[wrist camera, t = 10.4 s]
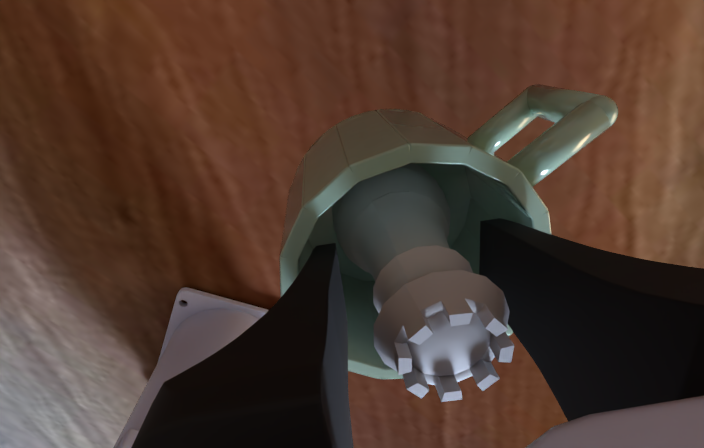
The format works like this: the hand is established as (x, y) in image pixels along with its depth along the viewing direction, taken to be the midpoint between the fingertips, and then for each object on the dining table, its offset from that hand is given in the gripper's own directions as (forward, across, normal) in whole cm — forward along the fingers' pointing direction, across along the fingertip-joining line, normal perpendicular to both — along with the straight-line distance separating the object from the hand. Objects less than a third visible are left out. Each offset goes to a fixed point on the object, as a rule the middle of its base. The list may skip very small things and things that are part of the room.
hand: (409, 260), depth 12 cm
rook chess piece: (+4, 0, 0) cm, 4 cm away
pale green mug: (+4, -1, -1) cm, 4 cm away
